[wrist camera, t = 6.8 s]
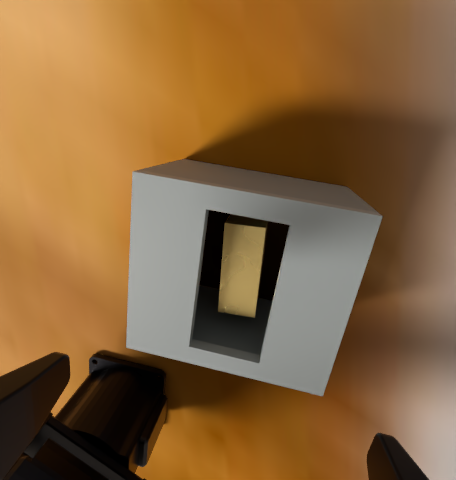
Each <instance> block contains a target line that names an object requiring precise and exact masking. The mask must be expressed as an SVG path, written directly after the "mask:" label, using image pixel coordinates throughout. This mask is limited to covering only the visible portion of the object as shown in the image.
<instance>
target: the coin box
mask: <svg viewBox="0 0 456 480" xmlns="http://www.w3.org/2000/svg"><path fill="white" fill-rule="evenodd" d="M209 210H213V211H218V212H223V213H229V214H234V215H239V216H245V217H250V218H255V219H261V220H266V221H271V222H276V223H282V224H287V225H290V226H289V230H288V235H287V239H286V243H285V248H284V252H283V257H282V261H281V266H280V270H279V274H278V279H277V283H276V288H275V292H274V296H273V301H271V300H267V299H262V298H258V301H257V307H256V313H255V318H253V317H247V316H241V315H235V314H229V313H223V312H218V305H219V291H220V289H216V288H212V287H207V286H202V285H199V283H200V275H201V267H202V259H203V251H204V244H205V236H206V228H207V220H208V212H209ZM382 217H383V216H382V215H381V214H379V213H378V212H377V211H376V210H375V209H373V208H372V207H371V206H370V205H369V204H367V203H366V202H365V201H364V200H363V199H361V198H360V197H359V196H358V195H357V194H355V193H354V192H353V191H352V190H351V189H349V188H348V187H346V186H340V185H334V184H328V183H322V182H317V181H311V180H305V179H299V178H293V177H287V176H281V175H276V174H270V173H264V172H258V171H252V170H246V169H240V168H235V167H229V166H223V165H217V164H211V163H205V162H199V161H194V160H188V159H182V160H178V161H174V162H169V163H165V164H161V165H157V166H153V167H149V168H145V169H141V170H137V171H133V176H132V203H131V230H130V257H129V284H128V311H127V339H126V348H130V349H134V350H138V351H142V352H146V353H150V354H154V355H158V356H162V357H166V358H170V359H174V360H178V361H182V362H186V363H190V364H194V365H198V366H202V367H207V368H211V369H215V370H219V371H223V372H227V373H231V374H235V375H239V376H243V377H247V378H251V379H255V380H259V381H263V382H267V383H271V384H275V385H279V386H283V387H287V388H291V389H295V390H299V391H303V392H307V393H311V394H316V395H320V396H323V394H324V391H325V388H326V385H327V382H328V379H329V376H330V373H331V370H332V367H333V364H334V361H335V358H336V355H337V352H338V349H339V346H340V343H341V340H342V337H343V334H344V331H345V328H346V325H347V322H348V319H349V316H350V313H351V310H352V307H353V304H354V301H355V298H356V295H357V292H358V289H359V286H360V283H361V280H362V277H363V274H364V271H365V268H366V265H367V262H368V259H369V256H370V253H371V250H372V247H373V244H374V241H375V238H376V235H377V232H378V229H379V226H380V223H381V220H382Z"/></svg>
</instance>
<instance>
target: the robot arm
mask: <svg viewBox="0 0 456 480" xmlns="http://www.w3.org/2000/svg"><path fill="white" fill-rule="evenodd" d="M96 360H97V361H96ZM159 376H160V377H159ZM69 379H70V361H69V356H68V355H67V354H63V353H59V352H54V353H51V354H49V355H47V356H44V357H42V358H40V359H38V360H36V361H33V362H31V363H29V364H27V365H25V366H22V367H20V368H18V369H16V370H14V371H11V372H9V373H7V374H5V375H3V376H0V480H146V479H145V478H144V479H142V478H140V477H139V476H137V475H136V474H135V471H136V469H137V467H138V466H141V467H144V466H145V465H146V464H147V462H148V460H149V458H150V455H151V453H152V450H153V448H154V446H155V443H156V441H157V438H158V436H159V434H160V431H161V429H162V426H163V424H164V422H165V419H166V409H167V399H168V398H167V396H166V395H164V393H165V383H166V374H165V372H164V371H162V370H160V369H156V368H152V367H148V366H144V365H140V364H136V363H132V362H128V361H124V360H120V359H116V358H112V357H108V356H104V355H100V354H93V355H92V357H91V358H90V359H89V376H88V377H87V378H86V379H85V381H84V382H83V383H82V384H81V386H80V387H79V388H78V389H77V391H76V392H75V393H74V394H73V395H72V397H71V398H70V399H69V400H68V402H67V403H66V404H65V405H64V407H63V408H62V409H61V410H60V412H59V413H58V414H57V415H56V416H55V417H54V416H52V415H53V414H52V413H51V410H52V408H53V407H54V405H55V404H56V402H57V400H58V399H59V397H60V395H61V394H62V392H63V391H64V389H65V387H66V386H67V384H68V382H69ZM367 468H368V476H369V480H429V479H428V478H427V476H426V475H425V474H424V473H423V472H422V470H421V469H420V468H419V467H418V465H417V464H416V463H415V462H414V461H413V459H412V458H411V457H410V456H409V454H408V453H407V452H406V451H405V449H404V448H403V447H402V446H401V445H400V443H399V442H398V441H397V440H396V439H395V438H394V437H393V436H390V435H386V434H382V433H377V434H376V435H375V437H374V439H373V442H372V444H371V446H370V449H369V451H368V454H367Z"/></svg>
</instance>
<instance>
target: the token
mask: <svg viewBox="0 0 456 480" xmlns="http://www.w3.org/2000/svg"><path fill="white" fill-rule="evenodd" d="M267 228H268V221H266V220H261V219H255V218H250V217H245V216H239V215H234V214H230V216H229V217H228V219H227V220H226V222H225V226H224V239H223V252H222V265H221V278H220V291H219V305H218V312H223V313H229V314H235V315H241V316H247V317H253V318H255V313H256V307H257V301H258V295H259V288H260V282H261V275H262V267H263V260H264V252H265V244H266V236H267Z"/></svg>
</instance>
